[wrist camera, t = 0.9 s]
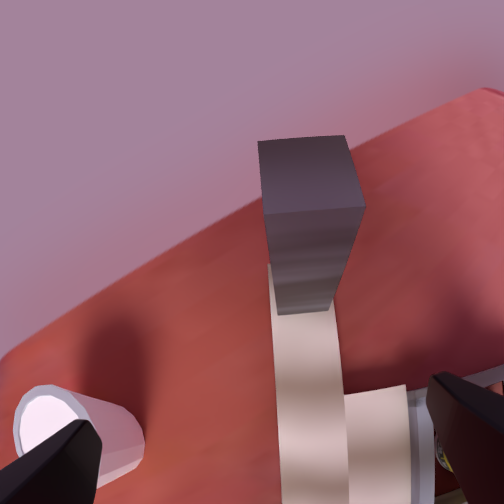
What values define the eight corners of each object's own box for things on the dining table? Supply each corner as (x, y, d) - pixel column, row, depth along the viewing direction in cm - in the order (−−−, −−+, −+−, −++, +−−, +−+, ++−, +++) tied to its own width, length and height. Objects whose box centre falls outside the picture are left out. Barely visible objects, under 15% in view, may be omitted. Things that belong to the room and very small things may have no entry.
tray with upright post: (515, 473, 13) (636, 480, 2) (284, 537, 15) (273, 659, 3) (483, 249, 22) (570, 145, 10) (268, 272, 23) (246, 135, 12)
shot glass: (110, 375, 21) (51, 359, 15) (172, 446, 18) (124, 459, 12) (60, 428, 19) (-2, 425, 13) (114, 497, 17) (57, 518, 10)
